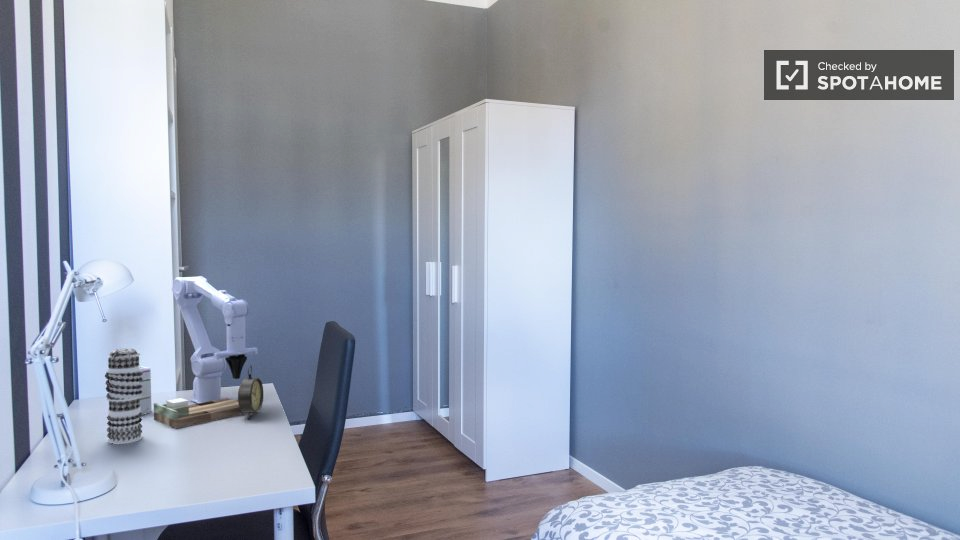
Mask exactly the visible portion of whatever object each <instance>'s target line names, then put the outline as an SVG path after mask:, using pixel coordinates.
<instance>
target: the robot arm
mask: <svg viewBox="0 0 960 540" xmlns="http://www.w3.org/2000/svg"><path fill="white" fill-rule="evenodd" d="M171 291H172V294H173V296H174V299H175V302H176V304H177V305H178V307H179V310H180V312H181V316H182V318H183V321H184V323H185V326H186V329H187V332H188V334H189V337H190V340H191V342H192V346H193V348H194V352H193V354H192V355H191V357H190V362H191V371H192V374H193V375H194V376H195V377H194V378H193V379H194V380H193V382H192V388H193V389H192V396H193V397H192V399H190V402H192V403H195V404H197V403H202V402H208V401H213V400H218V399H223V398H222V395H221V394H222V392H221V390H222V388H221V385H222V382H221V381H222V380H221V379H222V378H221V376H223V373H224V372H225V370H226V368H227V364H228V366H229V369H230V371H231V374H232V375H231V376H232V379H235V380H238V379H240V378H241V374H242V370H243V368H244V365H245V363H246V362H247V360H248V355H258V350H259V349H258V347H246V317H247V316H249V315H248V314H249V311H250V307H249V303H248V302H247V301H246V300H245V299H237V298H236V297H235V296H233V295H231V294H229V293H228V291H227V290H224V289H222V290H221V289H219V290H217V289H216V288H215V287H213V285H211V284H210V283H209V282H208V279H207V278H205V277H204V276H202V275H198V276H185V277H184V276H183V277H180V276H177V277H175V278H174V280H173V282H172V286H171ZM204 296H205V298H208V299H209V300H210V302H211V305H213V306H214V308H215V307H216V308H217V309H218V310H220V311H221V312H222V315H223V318H224V323H225V324H226V350H222V351H221V350H220V349H218V348H217V347H215V346H213V345H212V343H211V341H210V338H209V336H208V332H207V331H206V327H205V324H204V322H203V320H202V316H201V314H200V312H199V309H198V304H199V303H201V301H202V299H203V297H204Z"/></svg>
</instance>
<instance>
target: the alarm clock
mask: <svg viewBox="0 0 960 540" xmlns="http://www.w3.org/2000/svg"><path fill="white" fill-rule="evenodd" d="M249 371H250V373H249ZM252 371H253V368H252V365H251V364H249V365H248V368H247V376H248V377H247V378H244V379H243V380H242V381H241V383H240V384H239V386H238V387H239V388H238V392H237V401H238V404H239V407H240V410H241V411H242V412H243V413H244V414H243V415H245V414H247V420H250V417H251V414H258V413H259V412H260V411H261V409H262V407H263V402H264V387H263V382H262V380H261V379H260V378H259V377H252Z"/></svg>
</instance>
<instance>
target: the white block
mask: <svg viewBox="0 0 960 540" xmlns="http://www.w3.org/2000/svg"><path fill="white" fill-rule="evenodd" d="M165 404H167V407H168V408H171V409H174V408H179V407H184V406H188V405H189V400H188V399H185V398H182V397H179V398H172V399H167V400H166V403H165Z"/></svg>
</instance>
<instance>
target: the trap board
mask: <svg viewBox="0 0 960 540" xmlns="http://www.w3.org/2000/svg"><path fill="white" fill-rule="evenodd" d="M240 415H245V414H244V413H243V412H242V411H241V410H240V407H239V404H238V400H235V399H232V398H229V397H225V398H222V399H218V400H213V401H208V402H202V403H193V404H188V406H184V407H179V408H174V409H171V408H168V407H167V403H163V404H161V403H158V402H155V403H153V420H154V421H157V422H159V423H161V424H163V425H166V426H169V427H170V428H174V430H175V429H179V428H180V429H181V428H184V427H188V426H194V425H197V424H198V425H199V424H202V423H207V421H208V422H212V420H213V421H216V419H217V420H221V419H222V420H223V419H225V418H230V417H236V416H240ZM193 424H194V425H193Z"/></svg>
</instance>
